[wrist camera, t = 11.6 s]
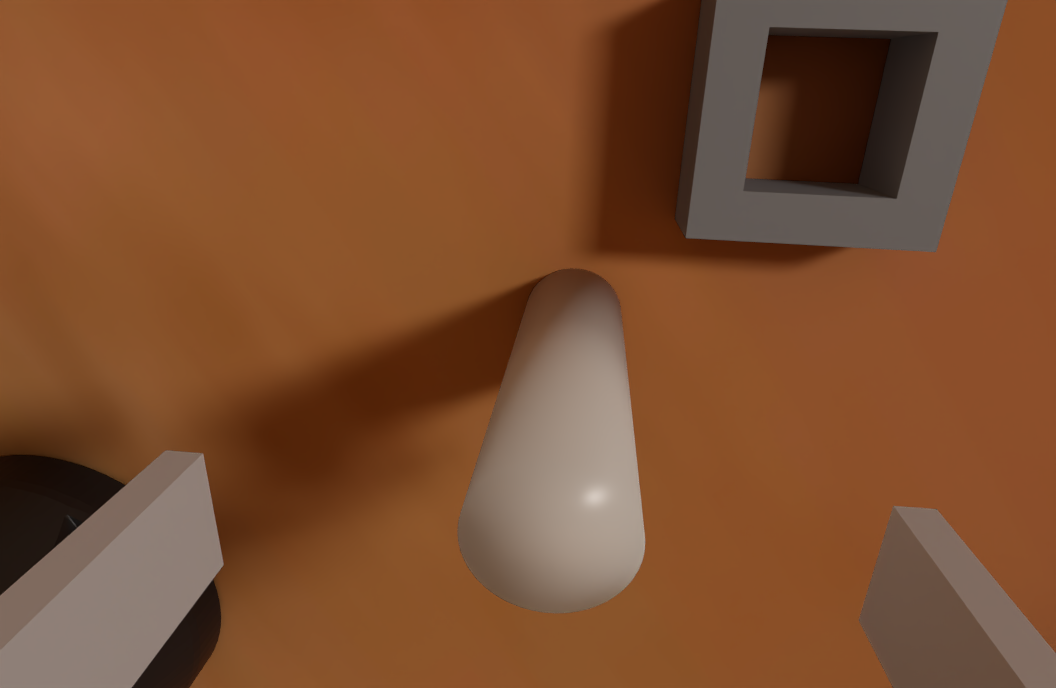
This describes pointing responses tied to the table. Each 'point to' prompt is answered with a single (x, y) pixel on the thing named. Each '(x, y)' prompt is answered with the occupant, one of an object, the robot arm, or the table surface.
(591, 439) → the plug
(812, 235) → the socket block
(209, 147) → the table surface
